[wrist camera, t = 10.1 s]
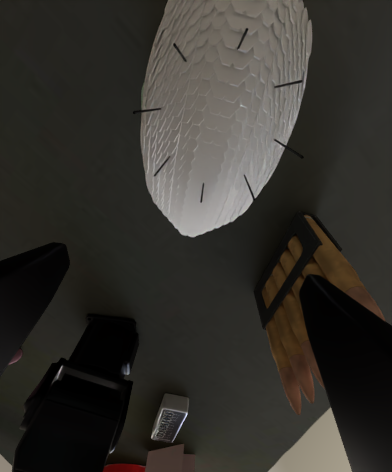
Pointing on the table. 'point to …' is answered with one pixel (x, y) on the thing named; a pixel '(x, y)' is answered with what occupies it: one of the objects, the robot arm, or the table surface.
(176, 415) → the multiport hub
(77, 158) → the table surface
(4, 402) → the table surface
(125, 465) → the toy clock
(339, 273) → the ammunition clip
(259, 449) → the table surface
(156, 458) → the greeting card
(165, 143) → the pincushion
